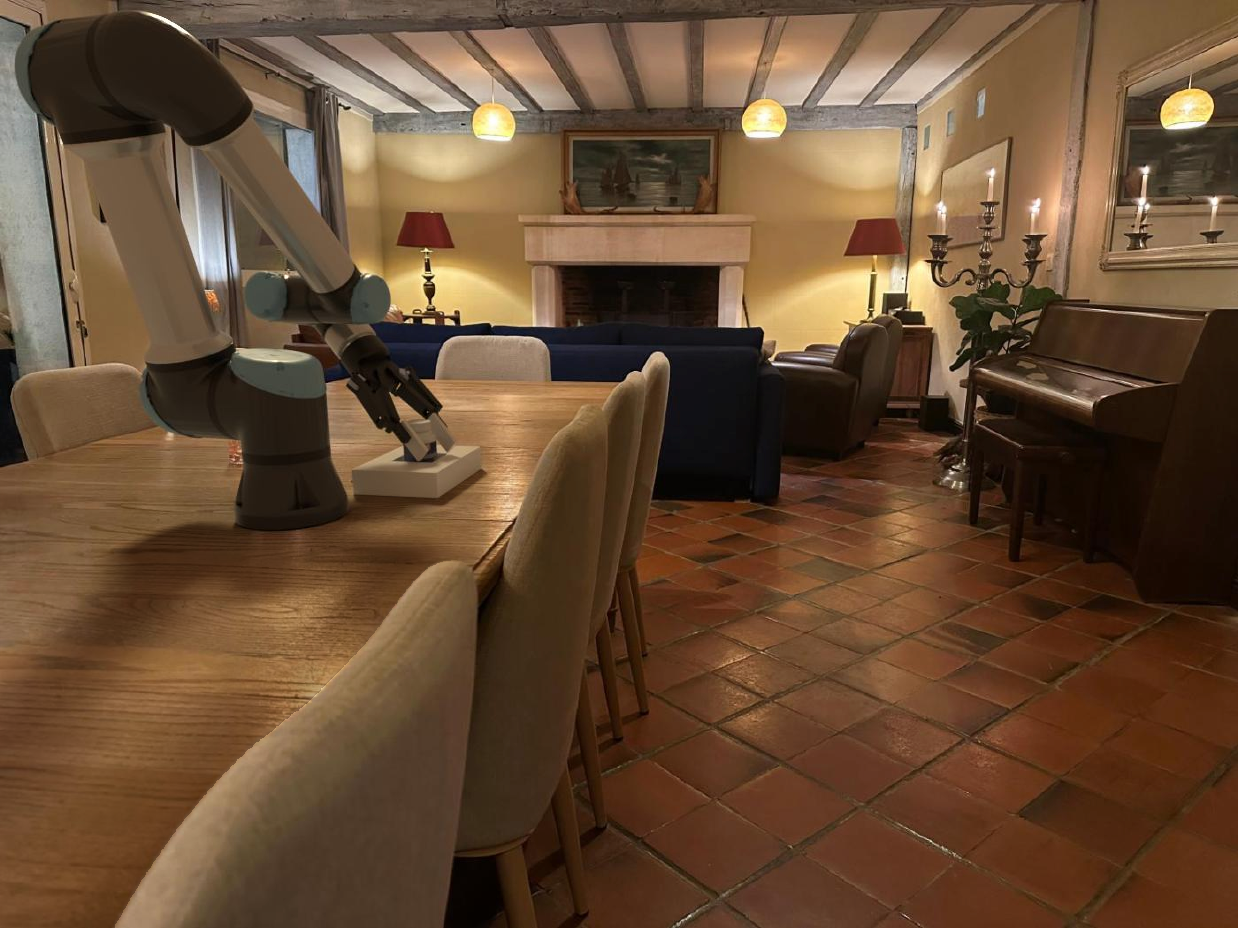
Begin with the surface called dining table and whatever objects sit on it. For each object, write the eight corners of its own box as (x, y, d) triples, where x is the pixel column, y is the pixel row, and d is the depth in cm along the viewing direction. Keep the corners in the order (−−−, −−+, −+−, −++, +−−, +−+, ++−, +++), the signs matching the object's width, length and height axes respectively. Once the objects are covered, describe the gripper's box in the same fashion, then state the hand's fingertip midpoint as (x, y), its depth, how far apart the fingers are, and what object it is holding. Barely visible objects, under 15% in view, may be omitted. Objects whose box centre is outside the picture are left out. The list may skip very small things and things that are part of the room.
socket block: (353, 494, 128) (351, 469, 127) (407, 465, 147) (406, 443, 146) (437, 498, 125) (436, 472, 124) (481, 468, 144) (480, 446, 143)
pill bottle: (419, 484, 132) (416, 425, 130) (398, 479, 136) (394, 422, 133) (445, 477, 137) (442, 420, 134) (424, 473, 140) (420, 417, 138)
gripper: (390, 357, 147) (465, 453, 143) (302, 369, 131) (384, 478, 127) (409, 328, 144) (487, 426, 140) (322, 337, 127) (406, 448, 123)
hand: (438, 451), depth 133 cm, fingers open, 6 cm apart
